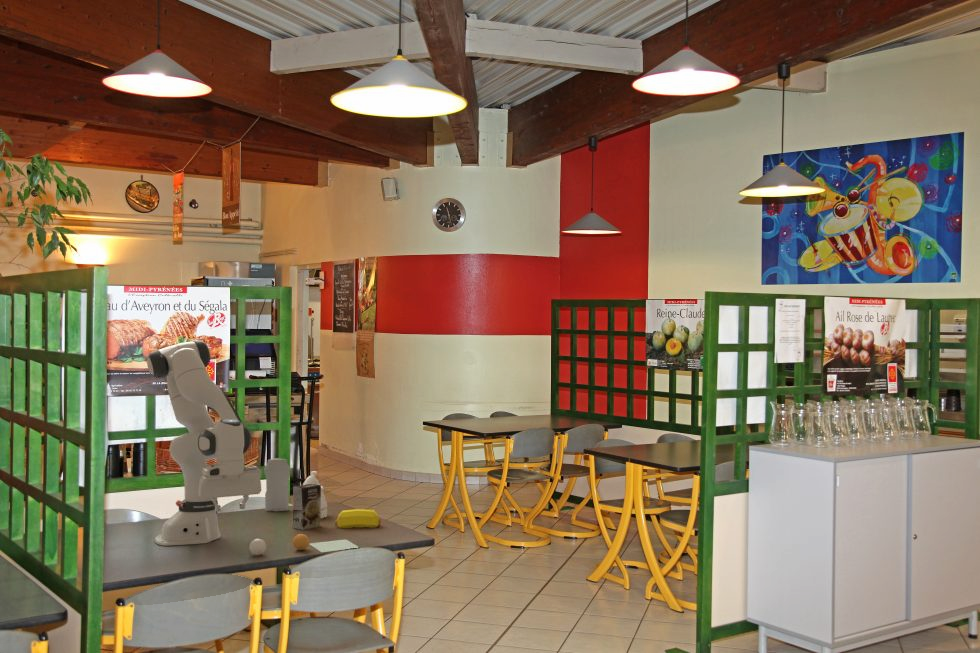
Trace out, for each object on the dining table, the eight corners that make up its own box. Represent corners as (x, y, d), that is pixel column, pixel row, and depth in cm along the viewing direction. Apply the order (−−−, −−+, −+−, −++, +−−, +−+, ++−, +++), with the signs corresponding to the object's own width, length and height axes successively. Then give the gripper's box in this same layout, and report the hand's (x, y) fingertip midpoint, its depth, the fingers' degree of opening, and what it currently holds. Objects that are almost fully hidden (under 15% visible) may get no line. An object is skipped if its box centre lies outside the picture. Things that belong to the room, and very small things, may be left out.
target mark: (321, 552, 307) (321, 552, 307) (308, 544, 319) (308, 543, 319) (359, 548, 314) (359, 547, 314) (345, 539, 326) (345, 539, 326)
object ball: (295, 552, 307) (295, 536, 307) (290, 549, 312) (290, 533, 312) (311, 550, 310) (311, 534, 310) (306, 547, 314) (306, 531, 314)
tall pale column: (263, 511, 376) (263, 458, 376) (264, 509, 380) (265, 457, 380) (289, 511, 377) (289, 458, 377) (290, 509, 381) (290, 457, 381)
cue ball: (251, 557, 299) (251, 541, 299) (247, 554, 304) (247, 538, 304) (268, 555, 302) (268, 539, 302) (263, 552, 307) (263, 536, 307)
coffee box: (303, 530, 341) (303, 488, 341) (291, 528, 345) (292, 486, 345) (321, 526, 348) (321, 484, 348) (310, 524, 352) (310, 483, 352)
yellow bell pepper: (381, 528, 346) (381, 524, 353) (381, 511, 346) (381, 507, 353) (334, 529, 344) (335, 525, 351) (334, 512, 344) (335, 508, 351)
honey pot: (305, 512, 375) (306, 469, 375) (332, 514, 371) (333, 471, 371) (288, 518, 363) (289, 473, 363) (316, 520, 359) (317, 475, 359)
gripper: (258, 464, 307) (258, 505, 307) (197, 469, 297) (197, 510, 296) (264, 467, 301) (263, 508, 301) (201, 471, 291) (201, 514, 291)
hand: (230, 509), depth 299 cm, fingers open, 7 cm apart
